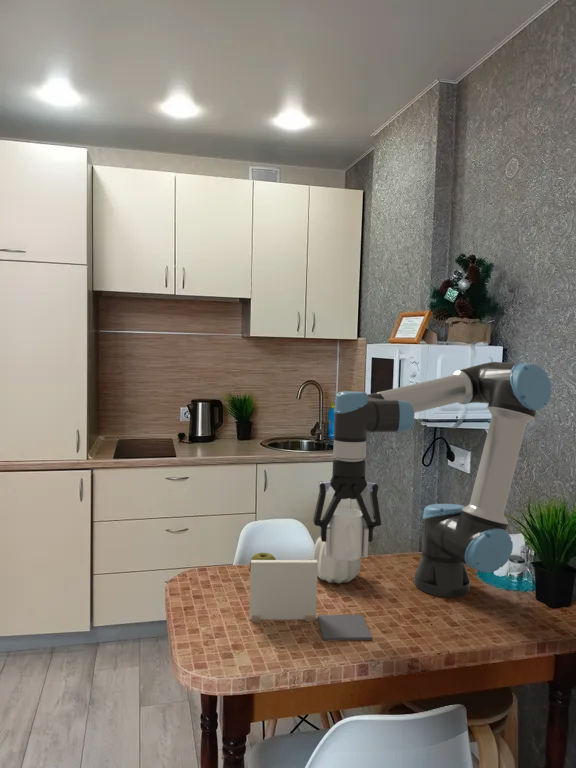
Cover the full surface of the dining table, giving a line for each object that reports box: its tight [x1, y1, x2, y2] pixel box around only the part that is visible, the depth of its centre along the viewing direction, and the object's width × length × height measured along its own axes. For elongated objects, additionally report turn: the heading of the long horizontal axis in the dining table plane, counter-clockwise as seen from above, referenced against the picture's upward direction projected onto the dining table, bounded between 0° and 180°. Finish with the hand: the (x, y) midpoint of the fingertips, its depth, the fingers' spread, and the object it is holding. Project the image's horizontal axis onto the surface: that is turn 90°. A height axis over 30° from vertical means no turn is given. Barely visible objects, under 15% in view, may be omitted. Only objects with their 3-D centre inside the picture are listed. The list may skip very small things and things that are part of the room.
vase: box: [312, 535, 362, 584], centre depth 163 cm, size 14×14×13 cm
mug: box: [328, 507, 364, 561], centre depth 132 cm, size 12×8×10 cm
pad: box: [317, 614, 373, 641], centre depth 133 cm, size 11×11×1 cm
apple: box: [249, 552, 277, 572], centre depth 161 cm, size 8×8×7 cm
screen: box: [249, 559, 318, 623], centre depth 137 cm, size 16×4×14 cm, turn 94°
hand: (345, 554), depth 132 cm, fingers closed on mug, 8 cm apart
